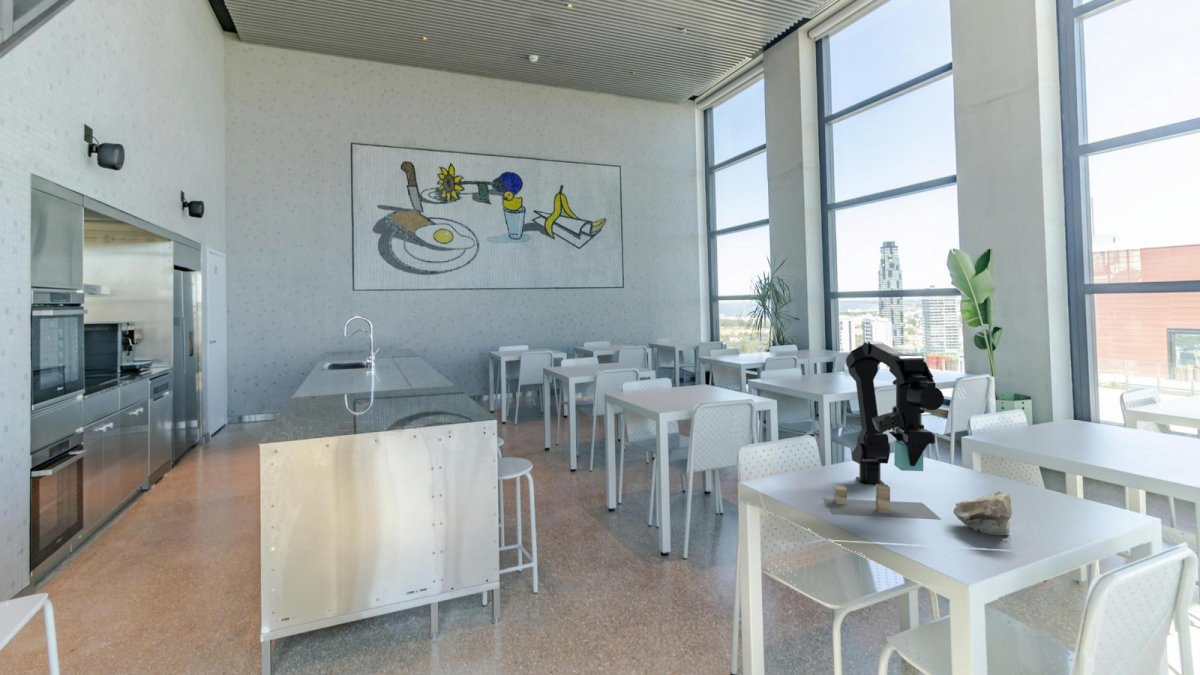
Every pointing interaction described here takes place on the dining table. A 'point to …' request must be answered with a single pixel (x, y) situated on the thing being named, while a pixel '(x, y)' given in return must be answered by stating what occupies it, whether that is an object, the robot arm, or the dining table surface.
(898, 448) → the teal rectangular block
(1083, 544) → the dining table surface
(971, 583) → the dining table surface
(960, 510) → the stone
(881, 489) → the post
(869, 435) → the robot arm
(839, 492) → the tan block
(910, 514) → the mat
